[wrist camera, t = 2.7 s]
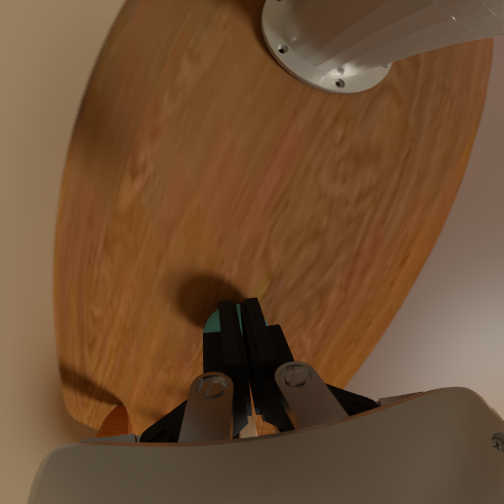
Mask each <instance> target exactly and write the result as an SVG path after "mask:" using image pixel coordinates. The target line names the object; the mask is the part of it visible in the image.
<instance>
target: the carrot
mask: <svg viewBox="0 0 504 504" xmlns="http://www.w3.org/2000/svg"><path fill="white" fill-rule="evenodd" d="M126 434H132V426H131V422H130V418H129V415H128V413H127V410H126V408H125V406H124V405H123V404H121V405H118V406H117V407H116V408H115V409H113V410H112V411H111V412H110V414H109V415H108V416H107V417H106V418H105V420H104V422H103V423H102V425H101V427H100V429H99V431H98V433H97V435H96V438H100V437H110V436H118V435H126Z"/></svg>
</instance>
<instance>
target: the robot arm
mask: <svg viewBox="0 0 504 504" xmlns="http://www.w3.org/2000/svg"><path fill="white" fill-rule="evenodd" d="M260 20H261V31H262V35H263V38H264V41H265V43H266V45H267V47H268V49H269V51H270V53H271V54H272V55H273V57H274V58H275V59H276V61H277V62H278V63H279V64H280V65H281V66H282V67H283V68H284V69H285V70H286V71H287V72H288V73H289V74H291V75H292V76H294V77H295V78H297V79H298V80H300V81H301V82H303V83H305V84H307V85H309V86H311V87H313V88H316V89H319V90H322V91H325V92H330V93H337V94H351V93H356V92H360V91H363V90H366V89H369V88H372V87H373V86H375V85H376V84H378V83H380V82H381V81H382V79H383V78H384V77H385V76H386V75H387V73H388V72H389V70H390V68H391V65H392V62H394V61H397V60H400V59H403V58H407V57H410V56H413V55H416V54H420V53H423V52H427V51H430V50H434V49H438V48H442V47H446V46H450V45H454V44H458V43H463V42H467V41H472V40H477V39H483V38H489V37H493V36H499V35H504V0H278V1H276V0H266V2H265V4H264V6H263V9H262V14H261V19H260ZM278 50H282V51H283V54H282V53H280V52H279V51H278ZM336 83H337V84H338V87H337V86H336ZM218 308H219V320H220V331H218V332H207V333H203V374H201V375H200V376H198V377H196V378H195V379H194V380H193V382H192V384H191V387H190V391H189V395H188V399H187V400H186V401H184V402H183V403H182V404H180V405H179V406H178V407H176V408H175V409H174V410H172V411H171V412H170V413H168V414H167V415H166V416H164V417H163V418H162V419H160V420H159V421H157V422H156V423H155V424H153V425H152V426H151V427H149V428H148V429H146V430H145V431H144V432H143V433H142V435H138V436H135V434H134V433H133V434H126V435H118V436H110V437H100V438H90V439H85V440H82V441H81V442H79V443H74V444H70V445H64V446H61V447H58V448H56V449H54V450H52V451H51V452H49V453H48V454H47V455H46V456H45V458H44V459H43V460H42V462H41V464H40V466H39V468H38V470H37V473H36V475H35V477H34V480H33V483H32V487H31V491H30V494H29V498H28V502H27V504H504V420H503V419H502V418H501V417H500V416H499V414H498V413H497V412H496V411H495V410H494V409H493V408H492V407H491V406H490V405H489V404H488V403H487V402H486V401H485V400H484V399H483V398H482V397H481V396H480V395H478V394H477V393H476V392H474V391H472V390H470V389H468V388H464V387H448V388H447V387H446V388H440V389H434V390H430V391H426V392H417V393H412V394H406V395H400V396H393V397H387V398H380V399H379V401H377V402H375V401H373V400H372V399H369V398H367V397H364V396H361V395H357V394H354V393H351V392H348V391H345V390H343V389H340V388H337V387H334V386H331V385H328V384H326V383H324V382H323V380H322V379H321V378H320V376H319V375H318V373H317V372H316V371H315V369H314V368H313V367H312V366H310V365H308V364H306V363H303V362H295V361H294V359H293V356H292V354H291V351H290V349H289V346H288V344H287V341H286V339H285V336H284V334H283V331H282V329H281V327H280V325H279V324H277V325H270V326H267V325H266V322H265V319H264V316H263V313H262V310H261V307H260V304H259V301H258V298H257V297H256V298H247V299H244V302H241V303H240V313H241V325H242V332H241V327H240V322H239V317H238V311H237V306H236V303H232V304H231V300H228V301H218ZM249 383H250V386H249ZM250 388H251V393H252V397H253V402H254V407H255V412H256V415H260V414H261V415H262V420H263V422H264V421H266V422H268V423H270V424H272V425H274V429H275V432H276V433H274V434H268V435H262V436H255V437H247V438H241V435H240V431H241V430H242V429H243V428H244V427H245V426H246V425H247V424H248V416H252V409H251V398H250Z"/></svg>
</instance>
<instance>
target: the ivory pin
mask: <svg viewBox="0 0 504 504" xmlns="http://www.w3.org/2000/svg"><path fill="white" fill-rule="evenodd" d="M240 435H241V438H247V437H255V436H257V431H256V426H255V420H254V415H253V411H252V416H248V424H247V425H246V426H245V427H244V428H243V429H242V430H241V431H240Z"/></svg>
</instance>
